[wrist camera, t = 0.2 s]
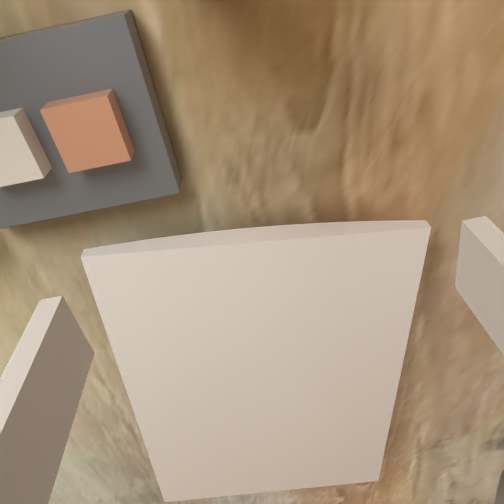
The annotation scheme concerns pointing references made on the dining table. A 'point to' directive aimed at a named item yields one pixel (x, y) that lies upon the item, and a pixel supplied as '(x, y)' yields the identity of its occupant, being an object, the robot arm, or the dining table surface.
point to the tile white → (20, 150)
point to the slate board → (79, 83)
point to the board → (262, 349)
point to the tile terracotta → (88, 130)
